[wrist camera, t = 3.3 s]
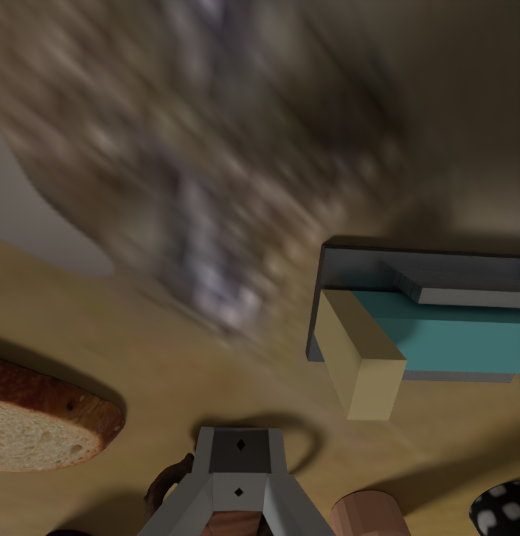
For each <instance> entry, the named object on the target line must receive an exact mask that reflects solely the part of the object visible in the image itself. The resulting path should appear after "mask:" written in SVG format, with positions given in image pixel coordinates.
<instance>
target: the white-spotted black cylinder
mask: <svg viewBox="0 0 520 536" xmlns="http://www.w3.org/2000/svg"><path fill="white" fill-rule="evenodd" d="M469 516H470V519H471V521H472V523H473V524H474V526H475V527H476V529H477V531H478V532H479V534H480V535H481V536H520V482H511V483H507V484H503V485H500V486H497V487H495V488H493V489H491V490H489V491H487V492H485V493H484V494H482V495H481V496H480V497H479V498H478V499H476V501H475V502H474V503H473V504H472V506H471V508H470V512H469Z"/></svg>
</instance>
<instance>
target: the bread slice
mask: <svg viewBox="0 0 520 536" xmlns="http://www.w3.org/2000/svg"><path fill="white" fill-rule="evenodd" d="M123 424H124V420H123V416H122V412H121V410H120V409H119V408H118V407H117V406H115V405H114V404H112V403H111V402H109V401H107V400H103V399H101V398H99V397H98V396H96V395H94V394H92V393H90V392H87V391H85V390H83V389H81V388H80V387H78V386H75V385H72V384H68V383H65V382H63V381H61V380H59V379H57V378H54V377H50V376H46V375H42V374H39V373H37V372H35V371H32V370H30V369H26V368H22V367H18V366H16V365H14V364H11V363H9V362H6V361H3V360H0V471H26V472H38V471H54V470H57V469H61V468H65V467H69V466H74V465H80V464H82V463H84V462H86V461H88V460H90V459H91V458H93V457H95V456H96V455H97V454H99V453H100V452H102V451H103V450H104V449H105V448H106V447H107V446H108V445H109V444H110V443H111V441H112V440H113V439H114V438H115V437H116V436H117V434H118V433H119V432H120V431H121V430H122V429H123Z"/></svg>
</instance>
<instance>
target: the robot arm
mask: <svg viewBox="0 0 520 536" xmlns="http://www.w3.org/2000/svg"><path fill="white" fill-rule="evenodd" d="M235 510H240V511H263V514H264V516H265V518H266V520H267V522H268V524H269V526H270V529H271V531H272V533H273V535H274V536H336V534H335V533H334V532H333V530H332V529H331V527H330V526H329V525H328V523H327V522H326V521H325V519H324V518H323V516H322V515H321V514H320V512H319V511H318V509H317V508H316V507H315V505H314V504H313V503H312V501H311V500H310V498H309V497H308V496H307V494H306V493H305V492H304V490H303V489H302V487H301V486H300V485H299V483H298V482H297V480H296V479H295V478H294V476H293V475H292V474H288V472H287V464H286V456H285V448H284V441H283V433H282V429H281V428H268V429H267V428H224V427H201V429H200V432H199V437H198V442H197V447H196V452H195V457H194V462H193V467H192V473H187V474H186V475H185V477H184V478H183V479H182V480H181V481H180V483H179V484H178V485H177V486H176V488H175V489H174V490H173V491H172V493H171V494H170V495H169V496H168V497H167V499H166V500H165V501H164V502H163V504H162V505H161V506H160V507H159V508H158V510H157V511H156V512H155V513H154V515H153V516H152V517H151V518H150V520H149V521H148V522H147V523H146V524H145V526H144V527H143V528H142V529H141V531H140V532H139V533H138V534H137V535H136V536H200V534H201V533H202V531H203V529H204V527H205V526H206V524H207V522H208V520H209V519H210V517H211V515H212V511H235Z"/></svg>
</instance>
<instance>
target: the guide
mask: <svg viewBox="0 0 520 536" xmlns="http://www.w3.org/2000/svg"><path fill="white" fill-rule="evenodd" d="M321 289H325V290H347V291H369V292H391V293H406V294H407V295H408V296H409V297H411V298H412V299H413V300H414V301H416V302H417V303H419V304H442V305H464V306H487V307H510V308H520V255H508V254H490V253H472V252H454V251H436V250H418V249H400V248H382V247H364V246H346V245H328V244H322V247H321V253H320V260H319V266H318V273H317V280H316V286H315V293H314V300H313V306H312V313H311V320H310V326H309V333H308V340H307V346H306V356H307V359H308V361H316V362H325V361H324V358H323V355H322V353H321V350H320V348H319V345H318V343H317V340H316V337H315V335H314V331H315V325H316V318H317V312H318V306H319V300H320V293H321ZM514 374H515V373H486V372H452V371H419V370H404V373H403V376H402V379H401V380H431V381H467V382H504V383H510V382H511V380H512V378H513V376H514Z"/></svg>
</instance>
